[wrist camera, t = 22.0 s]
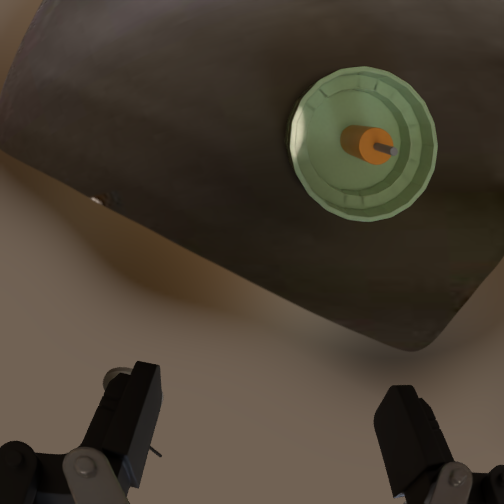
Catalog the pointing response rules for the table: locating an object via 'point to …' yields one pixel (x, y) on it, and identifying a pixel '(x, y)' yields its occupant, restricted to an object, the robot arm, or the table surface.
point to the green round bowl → (352, 168)
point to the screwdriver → (368, 144)
